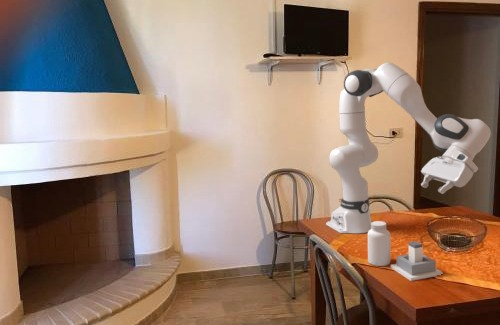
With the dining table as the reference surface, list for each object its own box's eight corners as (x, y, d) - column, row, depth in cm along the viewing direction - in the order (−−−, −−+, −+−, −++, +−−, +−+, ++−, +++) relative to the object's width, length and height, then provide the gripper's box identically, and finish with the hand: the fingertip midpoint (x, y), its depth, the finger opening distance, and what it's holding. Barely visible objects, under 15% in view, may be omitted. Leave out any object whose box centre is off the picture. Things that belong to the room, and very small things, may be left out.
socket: (390, 267, 154) (390, 255, 153) (420, 262, 157) (420, 250, 156) (410, 280, 143) (410, 268, 142) (442, 274, 145) (442, 262, 145)
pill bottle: (387, 268, 154) (386, 227, 151) (365, 264, 158) (364, 225, 156) (393, 260, 160) (392, 221, 158) (371, 257, 165) (370, 218, 162)
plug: (408, 267, 151) (408, 242, 150) (416, 265, 152) (416, 240, 150) (414, 270, 148) (414, 245, 146) (422, 269, 148) (422, 244, 147)
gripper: (431, 150, 163) (408, 178, 163) (471, 158, 144) (444, 190, 143) (442, 160, 165) (419, 188, 165) (482, 170, 145) (456, 201, 145)
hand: (431, 189), depth 154 cm, fingers open, 8 cm apart
